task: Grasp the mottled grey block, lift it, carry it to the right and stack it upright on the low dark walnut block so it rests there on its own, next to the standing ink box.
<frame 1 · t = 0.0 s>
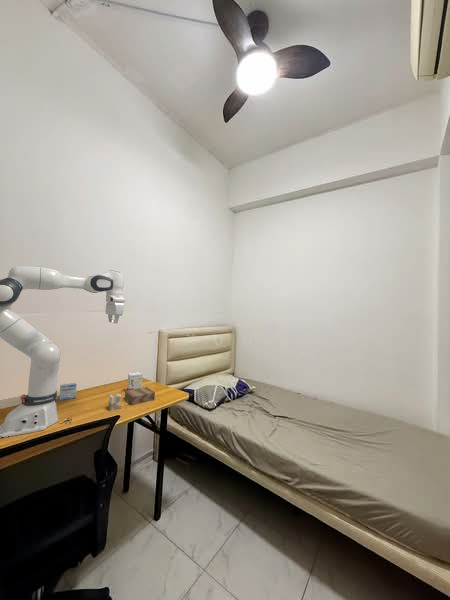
hand: (113, 322, 136), 48 cm above the table, fingers open, 8 cm apart
medicine box: (67, 399, 144), on the table
walnut block: (139, 399, 147), on the table
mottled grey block: (114, 408, 133), on the table
ink box: (134, 391, 161), on the table
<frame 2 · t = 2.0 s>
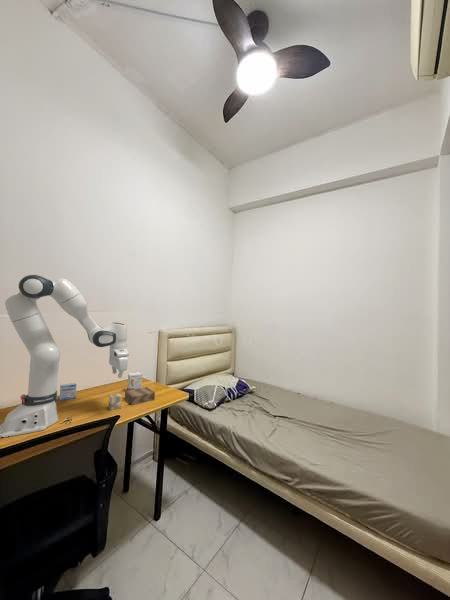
hand: (117, 375, 134), 18 cm above the table, fingers open, 8 cm apart
nothing on the table moved.
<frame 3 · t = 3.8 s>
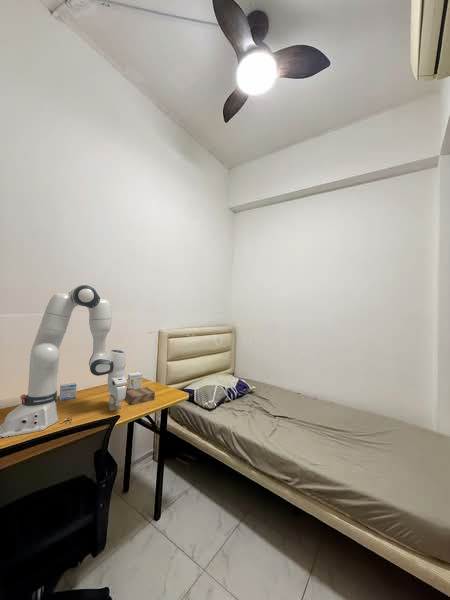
hand: (115, 403, 134), 3 cm above the table, fingers closed on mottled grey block, 5 cm apart
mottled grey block: (114, 408, 134), on the table, touching gripper
everything else where it was.
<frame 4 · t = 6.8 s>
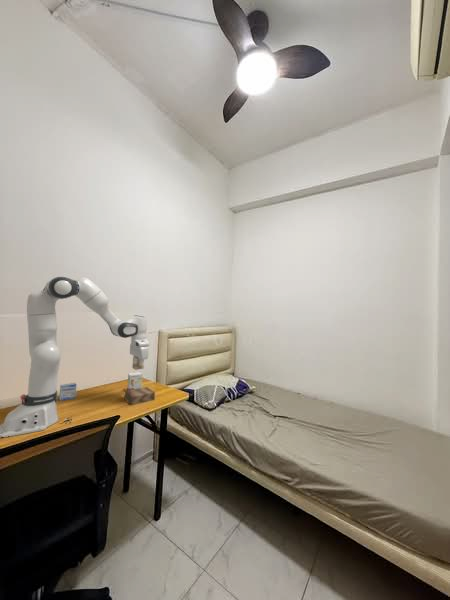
hand: (138, 364, 146), 22 cm above the table, fingers closed on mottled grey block, 5 cm apart
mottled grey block: (138, 368, 146), point 20 cm above the table, touching gripper
everything else where it was.
when the fingers open (9 cm above the table, at t = 9.9 s): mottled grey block drops 1 cm, point 5 cm above the table.
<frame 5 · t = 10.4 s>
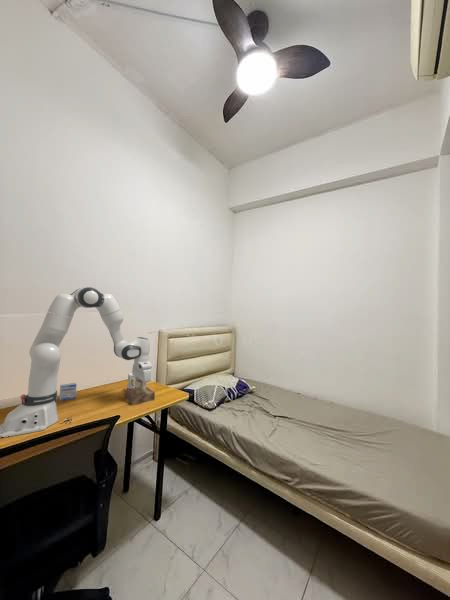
hand: (140, 385, 147), 9 cm above the table, fingers open, 8 cm apart
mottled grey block: (139, 391, 147), point 5 cm above the table
everything else where it was.
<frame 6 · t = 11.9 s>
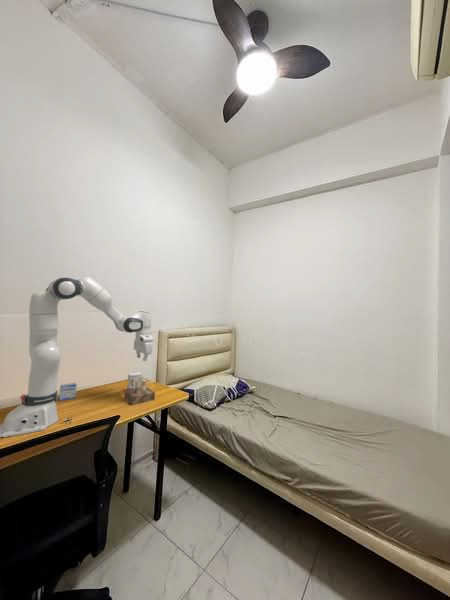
hand: (141, 359, 148), 25 cm above the table, fingers open, 8 cm apart
walnut block: (139, 400, 147), on the table, touching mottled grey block
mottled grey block: (140, 391, 147), point 5 cm above the table, touching walnut block
everything else where it was.
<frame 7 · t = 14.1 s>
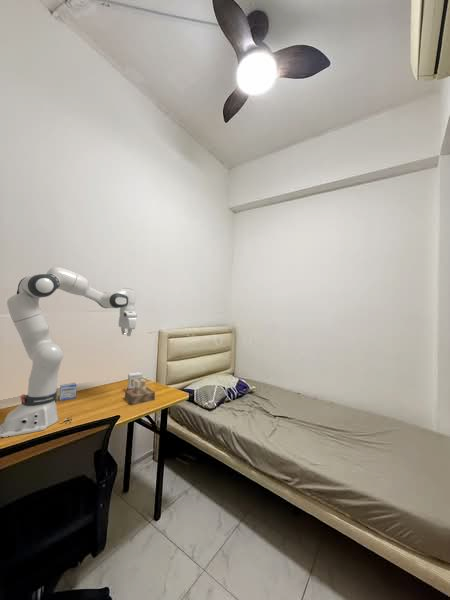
hand: (125, 335, 151), 39 cm above the table, fingers open, 8 cm apart
walnut block: (139, 400, 147), on the table
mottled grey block: (139, 391, 147), point 5 cm above the table
everything else where it was.
at the end: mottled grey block inside the target area on the walnut block (0.3 cm from its centre), point 5.0 cm above the walnut block's base; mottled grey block tilted 1°; the gripper is holding nothing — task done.
